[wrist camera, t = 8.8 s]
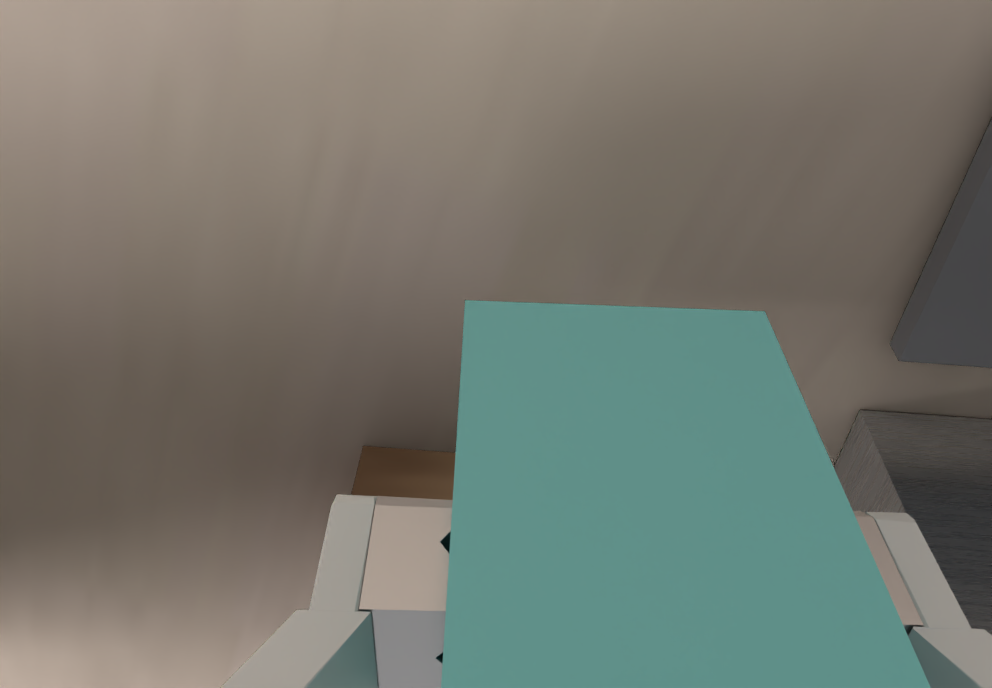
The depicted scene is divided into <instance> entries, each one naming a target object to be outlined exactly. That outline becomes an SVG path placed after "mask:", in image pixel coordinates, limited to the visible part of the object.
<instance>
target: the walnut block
mask: <svg viewBox="0 0 992 688" xmlns="http://www.w3.org/2000/svg"><path fill="white" fill-rule="evenodd" d="M455 454H456V453H453V452H439V451H426V450H412V449H398V448H384V447H371V446H363V448H362V453H361V457H360V461H359V465H358V469H357V473H356V477H355V481H354V485H353V489H352V493H351V495H362V496H388V497H405V498H423V499H441V500H453V487H454V471H455Z"/></svg>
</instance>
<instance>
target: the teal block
mask: <svg viewBox="0 0 992 688" xmlns="http://www.w3.org/2000/svg"><path fill="white" fill-rule="evenodd" d="M441 688H931V687H930V685H929V683H928V680H927V678H926V676H925V674H924V671H923V669H922V667H921V664H920V662H919V660H918V658H917V655H916V653H915V651H914V649H913V646H912V644H911V642H910V640H909V637H908V635H907V633H906V630H905V628H904V626H903V624H902V621H901V619H900V617H899V615H898V612H897V610H896V608H895V605H894V603H893V601H892V599H891V596H890V594H889V592H888V590H887V587H886V585H885V583H884V581H883V578H882V576H881V574H880V571H879V569H878V567H877V565H876V562H875V560H874V558H873V556H872V553H871V551H870V549H869V546H868V544H867V542H866V540H865V537H864V535H863V533H862V531H861V528H860V526H859V524H858V522H857V519H856V517H855V515H854V512H853V510H852V508H851V506H850V503H849V501H848V499H847V497H846V494H845V492H844V490H843V488H842V485H841V483H840V481H839V478H838V476H837V474H836V472H835V469H834V467H833V465H832V463H831V460H830V458H829V456H828V453H827V451H826V449H825V447H824V444H823V442H822V440H821V438H820V435H819V433H818V431H817V429H816V426H815V424H814V422H813V419H812V417H811V415H810V413H809V410H808V408H807V406H806V404H805V401H804V399H803V397H802V395H801V392H800V390H799V388H798V385H797V383H796V381H795V379H794V376H793V374H792V372H791V370H790V367H789V365H788V363H787V360H786V358H785V356H784V354H783V351H782V349H781V347H780V345H779V342H778V340H777V338H776V336H775V333H774V331H773V329H772V326H771V324H770V322H769V320H768V317H767V315H766V313H765V311H743V310H716V309H689V308H662V307H635V306H608V305H581V304H554V303H527V302H500V301H473V300H465V309H464V325H463V341H462V358H461V374H460V390H459V406H458V422H457V438H456V454H455V471H454V487H453V503H452V519H451V535H450V551H449V567H448V584H447V600H446V616H445V632H444V648H443V664H442V680H441Z"/></svg>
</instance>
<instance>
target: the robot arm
mask: <svg viewBox="0 0 992 688" xmlns="http://www.w3.org/2000/svg"><path fill="white" fill-rule="evenodd" d="M452 503H453V500H441V499H423V498H405V497H388V496H362V495H341V494H337V495H336V497H335V499H334V501H333V503H332V505H331V509H330V514H329V518H328V523H327V528H326V532H325V537H324V542H323V546H322V551H321V556H320V560H319V565H318V570H317V574H316V579H315V583H314V588H313V593H312V597H311V602H310V607H309V609H303V610H296V611H295V612H294V613H293V614H292V615H291V616H290V617H289V618H288V619H287V620H286V621H285V622H284V623H283V624H282V625H281V626H280V627H279V628H278V629H277V630H276V631H275V632H274V633H273V634H272V635H271V636H270V637H269V638H268V639H267V640H266V641H265V642H264V643H263V644H262V645H261V646H260V647H259V648H258V649H257V650H256V652H255V653H254V654H253V655H252V656H251V657H250V658H249V659H248V660H247V661H246V662H245V663H244V664H243V665H242V666H241V667H240V668H239V669H238V670H237V671H236V672H235V673H234V674H233V675H232V676H231V677H230V678H229V679H228V680H227V681H226V682H225V683H224V684H223V685H222V686H221V687H220V688H441V680H442V664H443V648H444V632H445V616H446V600H447V584H448V567H449V551H450V535H451V519H452ZM853 512H854V515H855V517H856V519H857V522H858V524H859V526H860V528H861V531H862V533H863V535H864V537H865V540H866V542H867V544H868V546H869V549H870V551H871V553H872V556H873V558H874V560H875V562H876V565H877V567H878V569H879V571H880V574H881V576H882V578H883V581H884V583H885V585H886V587H887V590H888V592H889V594H890V596H891V599H892V601H893V603H894V605H895V608H896V610H897V612H898V615H899V617H900V619H901V621H902V624H903V626H904V628H905V630H906V633H907V635H908V637H909V640H910V642H911V644H912V646H913V649H914V651H915V653H916V655H917V658H918V660H919V662H920V664H921V667H922V669H923V671H924V674H925V676H926V678H927V680H928V683H929V685H930V687H931V688H992V635H991V634H990V633H988V632H987V631H986V630H985V629H974V628H971V626H970V624H969V622H968V620H967V619H966V617H965V615H964V613H963V611H962V609H961V607H960V605H959V603H958V601H957V600H956V598H955V596H954V594H953V592H952V590H951V588H950V586H949V584H948V582H947V580H946V579H945V577H944V575H943V573H942V571H941V569H940V567H939V565H938V563H937V561H936V560H935V558H934V556H933V554H932V552H931V550H930V548H929V546H928V544H927V542H926V541H925V539H924V537H923V535H922V533H921V531H920V529H919V527H918V525H917V523H916V522H915V520H914V519H913V518H912V517H911V516H910V515H908V514H907V513H892V512H861V511H853Z"/></svg>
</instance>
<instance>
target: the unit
mask: <svg viewBox="0 0 992 688" xmlns="http://www.w3.org/2000/svg"><path fill="white" fill-rule="evenodd" d="M834 469H835V472H836V474H837V476H838V478H839V481H840V483H841V485H842V488H843V490H844V492H845V494H846V497H847V499H848V501H849V503H850V506H851V508H852V510H853V511H861V512H892V513H907V514H908V515H910V516H911V517H912V518H913V519H914V520H915V522H916V523H917V525H918V527H919V529H920V531H921V533H922V535H923V537H924V539H925V541H926V542H927V544H928V546H929V548H930V550H931V552H932V554H933V556H934V558H935V560H936V561H937V563H938V565H939V567H940V569H941V571H942V573H943V575H944V577H945V579H946V580H947V582H948V584H949V586H950V588H951V590H952V592H953V594H954V596H955V598H956V600H957V601H958V603H959V605H960V607H961V609H962V611H963V613H964V615H965V617H966V619H967V620H968V622H969V624H970V626H971V628H974V629H985V630H986V631H987V632H988V633H990V634H991V635H992V419H978V418H964V417H950V416H936V415H923V414H909V413H895V412H881V411H868V410H860V411H859V413H858V415H857V417H856V419H855V422H854V424H853V426H852V428H851V431H850V433H849V435H848V437H847V439H846V442H845V444H844V446H843V448H842V450H841V453H840V455H839V457H838V459H837V461H836V464H835V466H834Z"/></svg>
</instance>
